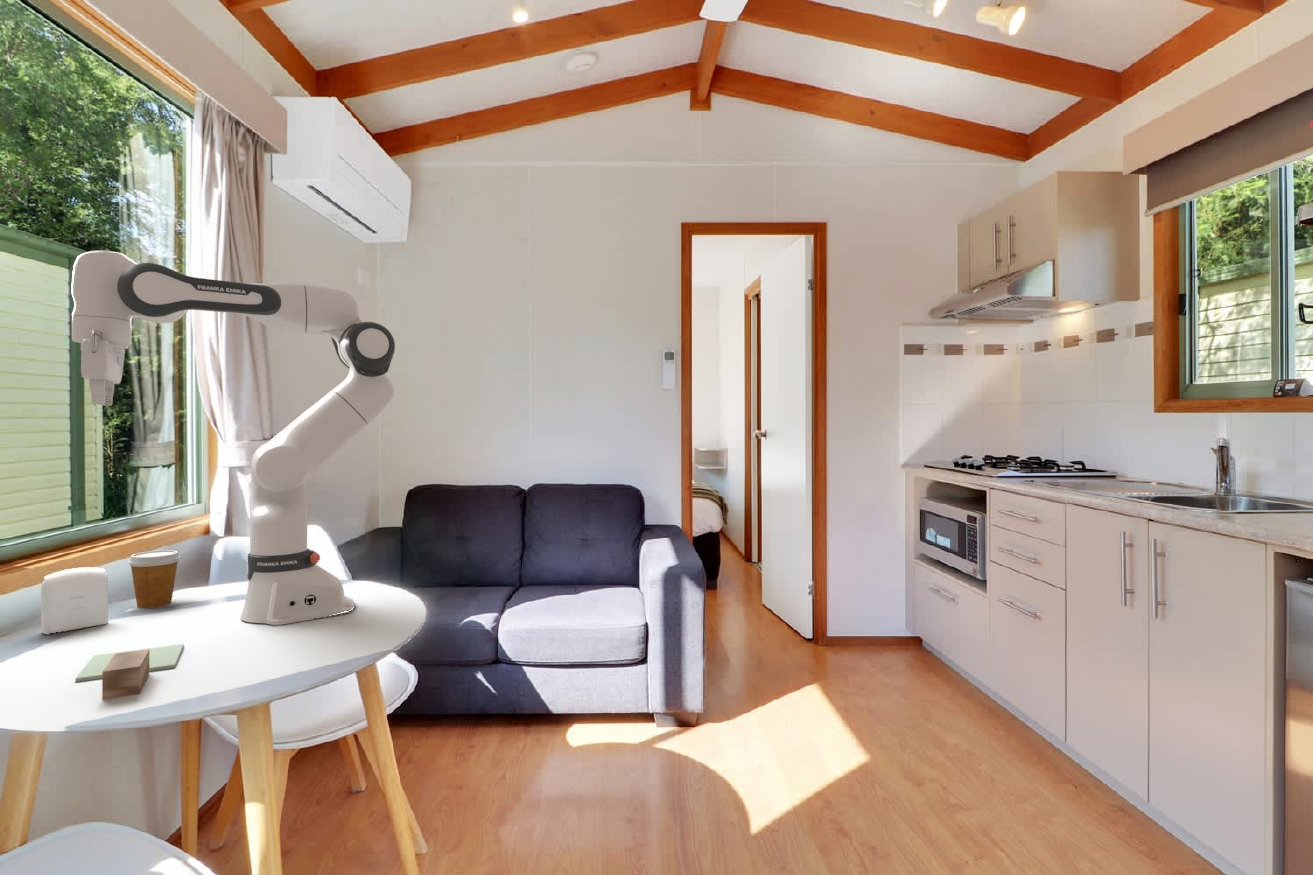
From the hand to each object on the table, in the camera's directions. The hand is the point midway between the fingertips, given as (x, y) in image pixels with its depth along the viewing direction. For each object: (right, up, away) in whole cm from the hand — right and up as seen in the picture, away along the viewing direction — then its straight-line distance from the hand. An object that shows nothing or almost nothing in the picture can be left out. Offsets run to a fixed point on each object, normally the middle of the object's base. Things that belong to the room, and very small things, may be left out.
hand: (102, 405), depth 124 cm
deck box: (+24, -47, -22) cm, 57 cm away
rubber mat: (+17, -46, -13) cm, 51 cm away
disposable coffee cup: (-9, -46, +24) cm, 52 cm away
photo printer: (-11, -46, +6) cm, 48 cm away
